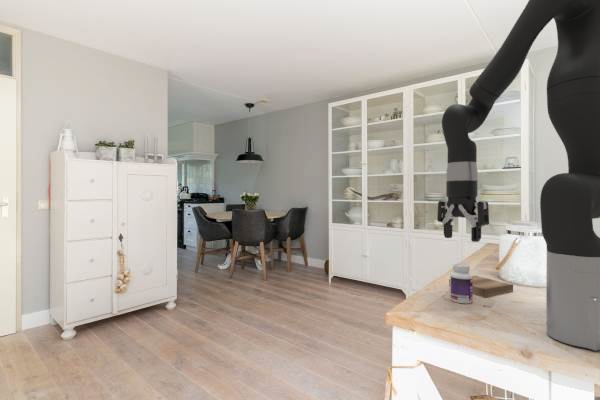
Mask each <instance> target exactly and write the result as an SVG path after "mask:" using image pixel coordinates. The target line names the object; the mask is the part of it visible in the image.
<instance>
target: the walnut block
mask: <svg viewBox="0 0 600 400" xmlns="http://www.w3.org/2000/svg"><path fill="white" fill-rule="evenodd" d="M448 279H449V281H448V286H449V287H450V278H448ZM510 293H514V284H512V283H507V282H504V281H499V280H495V279H491V278H487V277H483V276H479V275H472V295H474V296H479V297H480V298H484V299H487V298H491V297H496V296H500V295H505V294H510Z"/></svg>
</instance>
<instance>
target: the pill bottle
mask: <svg viewBox="0 0 600 400" xmlns="http://www.w3.org/2000/svg"><path fill="white" fill-rule="evenodd" d="M452 269H453V271H451V273H449V274H450V275H449V279H450V286H449V298H450V300H451V301H452V302H453V303H458V304H463V305H464V304H471V303H473V294H472V276H473V275H472V273H469V272H470V264H469V265H468V264H463V263H453V264H452Z"/></svg>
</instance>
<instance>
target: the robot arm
mask: <svg viewBox="0 0 600 400" xmlns="http://www.w3.org/2000/svg"><path fill="white" fill-rule="evenodd" d="M526 3H527V4H526V5H525V7H524V8H523V10H522V12H521V13H520V15H519V16H518V19H517V20H516V21H515V23H514V25H513V27H512V28H511V29H510V32H509V33H508V35H507V37H506V38H505V40H504V41H503V43H502V45H501V46H500V48H499V49H498V51H497V52H496V54H495V55H494V56H493V57H492V59H491V60H490V61H489V63H488V65H486V67H485V68H484V69H483V71H482V72H481V73H480V74H479V75H478V77H477V78H476V79H475V81H473V84H472V85H471V86H470V88H469V91H468V92H469V95H470V96H471V100H470V101H469V103H468V105H466V104H459V103H456V104H455V103H454V104H452V105H449V106H448V107H447V108H446V109H445V111H444V113H443V115H442V119H441V127H442V133H443V137H444V142H445V144H446V147H447V168H446V174H445V175H446V176H445V177H446V179H445V181H446V183H445V185H446V187H445V188H446V189H445V191H446V197H447V200H439V201H438V203H437V219H436V220H437V222H439V223H442V224H443V236H444V238H445V239H451V238H453V224H452V223H453V222H454V220H456V219H457V218H465V220H467V221H468V222H469V223H470V225H471V232H470V233H471V234H470V235H471V239H470V241H471V242H473V243H474V242H475V243H476V242H477V243H479V242H480V240H482V239H481V238H482V228H483V227H485V226H488V225H489V224H490V215H489V214H490V213H489V212H490V211H489V201H478V202H477V197H478V178H479V177H478V175H479V173H478V164H477V153H478V152H477V151H478V150H477V144H476V142H475V141H474V140H472V139H470V136H469V134H470V133H474V132H475V131H476V130H478V129H479V128H480V127H481V126H482V125H483V124H484V122H486V119H487V117H488V116H489V114H490V112H491V110H492V108H493V106H494V105H495V102H496V101H497V100H498V99H499V98H500V97H501V95H502V94H503V93H504V92H505V91H506V90H507V89H508V87H509V86H510V85H511V84H512V83H513V82H514V80H516V78H517V76H518V75H519V73H520V71H521V69H522V67H523V66H524V63H525V60H526V59H527V56H528V54H529V52H530V50H531V49H532V48H531V47H532V45H533V44H534V42H535V41H536V39H537V38H538V36H539V34H540V33H541V32H542V31H543V30H544V28H545V27H546V26H547V25H548V24H549V23H550V22H551V21H552V20H553V19H554V22H555V27H556V34H557V35H556V36H557V52H556V56H555V57H554V58H555V59H554V60H553V63H552V66H551V68H550V71H549V73H548V76H547V80H546V81H547V82H546V106H547V112H548V117H549V120H550V122H551V124H552V126H553V128H554V130H555V132H556V134H557V136H558V137H559V138H560V140H561V143H562V144H563V146H564V148H565V151H566V156H567V165H568V172H563V173H557V174H555V175H553V176H551V177H550V178H549V179H547V180H546V182H545V183H544V184H543V187H542V189H541V191H540V197H539V199H540V202H539V204H540V205H539V208H540V222H541V223H540V224H541V234H542V237H543V239H544V241H545V244H546V290H545V291H546V292H545V293H546V298H545V299H546V303H545V305H546V311H545V312H546V321H545V324H546V334H547V336H549V337H551V338H552V339H554V340H556V341H559V342H561V343H564V344H567V345H570V346H575V347H580V348H584V349H589V350H592V351H595V352H596V351H600V237H599V236H598V235H597V234H596V232H595V231H594V223H593V222H594V221H593V220H595V219H600V0H528V2H526ZM476 210H477V211H476Z"/></svg>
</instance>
